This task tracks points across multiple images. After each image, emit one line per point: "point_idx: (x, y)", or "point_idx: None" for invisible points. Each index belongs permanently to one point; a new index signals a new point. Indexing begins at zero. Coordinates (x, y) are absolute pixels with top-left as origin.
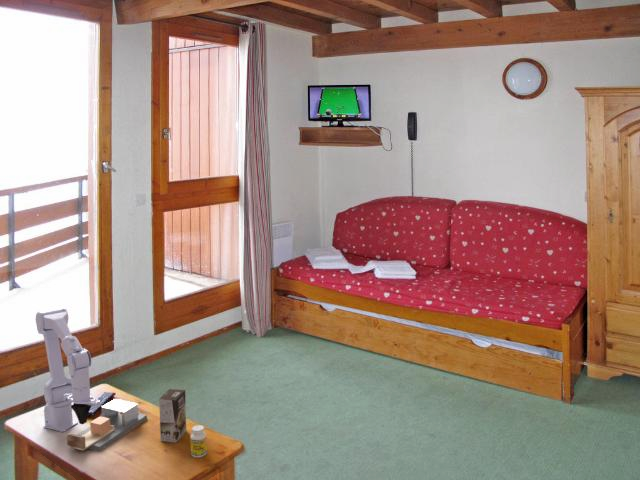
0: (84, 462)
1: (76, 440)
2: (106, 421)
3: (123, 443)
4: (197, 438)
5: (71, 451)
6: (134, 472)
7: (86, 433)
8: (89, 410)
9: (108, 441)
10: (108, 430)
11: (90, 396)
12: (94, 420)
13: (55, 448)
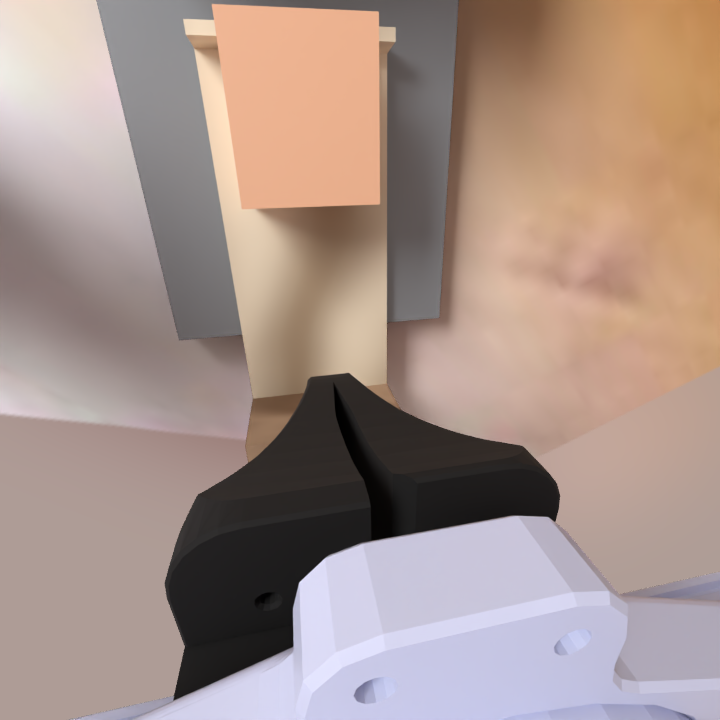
0: None
1: None
2: (377, 92)
3: (511, 158)
4: None
5: None
6: (683, 371)
7: (232, 235)
8: (425, 423)
9: (441, 225)
10: None
11: (681, 709)
12: (248, 149)
13: (166, 411)
